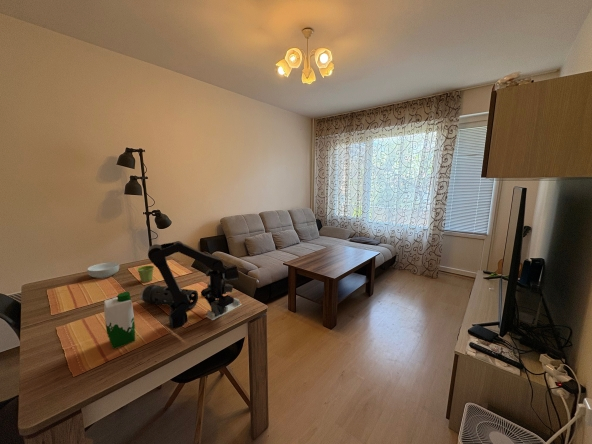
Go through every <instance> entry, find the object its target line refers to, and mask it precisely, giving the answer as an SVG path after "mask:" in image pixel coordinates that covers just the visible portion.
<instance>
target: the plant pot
mask: <svg viewBox="0 0 592 444" xmlns="http://www.w3.org/2000/svg"><path fill="white" fill-rule="evenodd" d="M154 268H155V265H143V266H141V267H137V269H136V270H137V272H138V274H139V278H140V282H142V283H148V282H151V281H153V277H154V276H153V273H154V272H153V271H154Z"/></svg>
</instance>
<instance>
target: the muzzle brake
mask: <svg viewBox="0 0 592 444" xmlns="http://www.w3.org/2000/svg"><path fill="white" fill-rule="evenodd" d="M180 289H181V290H182V291H183V290H186V293H187V295H188V296H189V299H190V302H189V308H188V309H189V310H190V309H193V308H195V306H196V305H197V303H198V301H199V293H198V291H197V290H195V289H187V288H180ZM140 300H141V301H142V302H144V303H146V304H151V305H154V304H156V305H157V306H169V307H170V305H171V304H172V303H173V298H172V294H171V292H170V290H169V289H168V287H167V286H163V285H158V284H148V285H145V286H144V287H143V288H142V289H141V292H140Z"/></svg>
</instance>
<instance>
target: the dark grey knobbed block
mask: <svg viewBox="0 0 592 444" xmlns="http://www.w3.org/2000/svg"><path fill="white" fill-rule="evenodd" d="M218 303H219V299H216V301H214V302H212V303H211V306H210V311H211V312H213V313H214V314H215V316H216V317H217V316H219V315H221V314H220V312H219V310H218V307H217V304H218ZM223 313H224V312H223Z"/></svg>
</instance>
